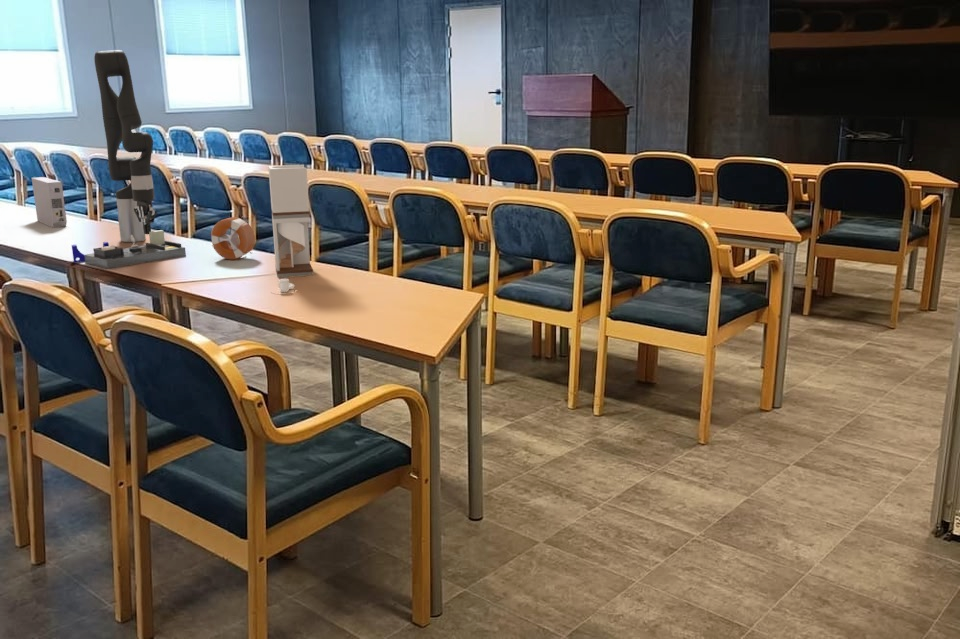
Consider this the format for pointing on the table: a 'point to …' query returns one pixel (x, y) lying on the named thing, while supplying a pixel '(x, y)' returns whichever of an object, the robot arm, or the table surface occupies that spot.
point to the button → (108, 247)
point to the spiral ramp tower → (290, 219)
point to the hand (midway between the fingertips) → (147, 234)
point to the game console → (49, 201)
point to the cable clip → (79, 255)
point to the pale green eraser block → (157, 237)
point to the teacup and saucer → (285, 285)
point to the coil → (232, 238)
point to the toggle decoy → (133, 242)
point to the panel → (134, 255)
